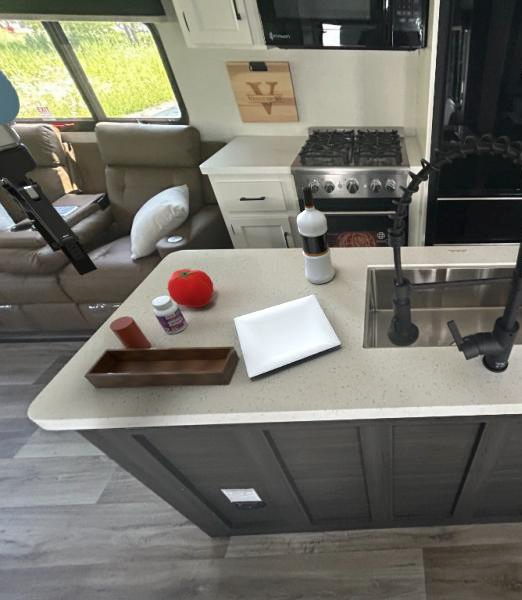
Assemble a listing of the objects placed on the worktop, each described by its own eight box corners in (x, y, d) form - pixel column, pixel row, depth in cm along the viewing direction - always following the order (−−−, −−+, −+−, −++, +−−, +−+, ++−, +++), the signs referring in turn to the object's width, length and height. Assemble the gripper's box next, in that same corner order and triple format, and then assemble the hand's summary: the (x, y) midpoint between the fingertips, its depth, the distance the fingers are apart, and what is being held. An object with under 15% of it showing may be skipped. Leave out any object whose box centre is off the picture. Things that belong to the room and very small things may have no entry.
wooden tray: (95, 388, 73) (83, 376, 71) (116, 360, 79) (106, 348, 77) (228, 384, 75) (222, 372, 72) (239, 358, 81) (234, 346, 78)
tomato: (192, 319, 91) (176, 291, 84) (167, 302, 96) (151, 274, 89) (228, 298, 98) (216, 271, 91) (203, 283, 103) (190, 256, 97)
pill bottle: (177, 336, 86) (161, 309, 80) (160, 332, 87) (143, 305, 81) (192, 322, 90) (177, 295, 84) (175, 319, 91) (160, 292, 85)
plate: (314, 299, 99) (313, 293, 98) (341, 348, 84) (341, 343, 83) (235, 323, 90) (233, 317, 89) (251, 382, 76) (248, 377, 74)
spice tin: (125, 355, 81) (105, 330, 75) (135, 341, 84) (116, 316, 78) (145, 354, 81) (126, 329, 75) (154, 341, 85) (137, 315, 79)
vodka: (320, 288, 103) (305, 197, 83) (300, 278, 107) (281, 188, 87) (340, 275, 109) (330, 186, 89) (320, 265, 113) (307, 178, 93)
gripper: (50, 156, 49) (124, 272, 62) (0, 128, 59) (72, 233, 73) (-21, 170, 44) (76, 292, 58) (-61, 137, 54) (29, 247, 68)
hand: (74, 259), depth 65 cm, fingers open, 13 cm apart
